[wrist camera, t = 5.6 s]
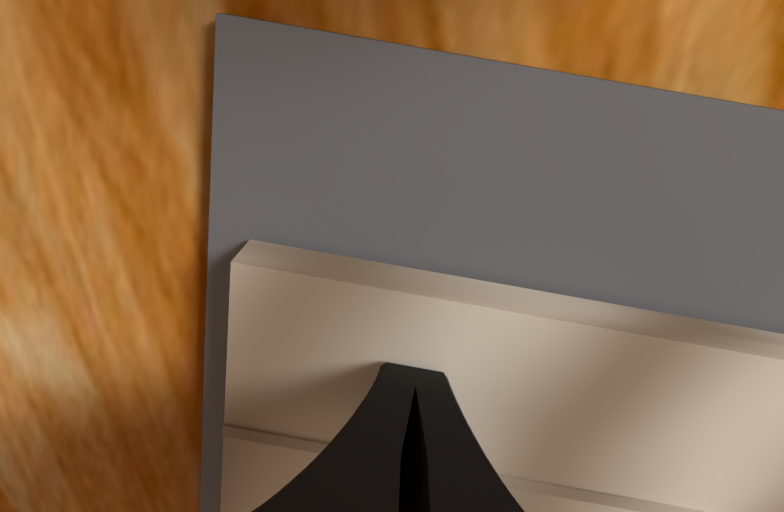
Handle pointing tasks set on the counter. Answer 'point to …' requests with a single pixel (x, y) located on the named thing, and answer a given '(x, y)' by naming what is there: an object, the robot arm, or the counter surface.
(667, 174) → the plate
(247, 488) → the loose plank
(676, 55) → the counter surface
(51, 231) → the counter surface
